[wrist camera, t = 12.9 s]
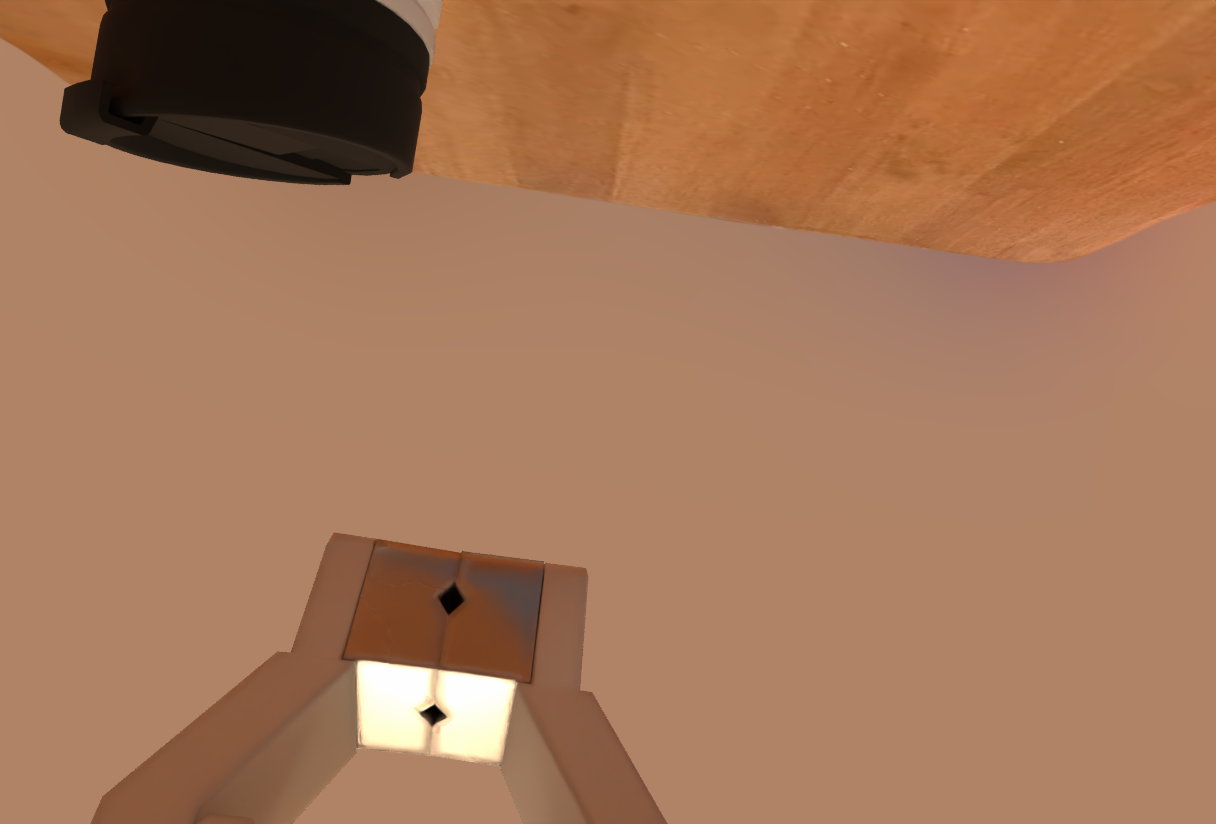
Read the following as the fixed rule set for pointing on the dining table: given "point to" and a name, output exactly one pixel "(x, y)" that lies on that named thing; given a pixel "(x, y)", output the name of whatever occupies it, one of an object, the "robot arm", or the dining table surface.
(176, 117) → the travel mug
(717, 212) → the dining table surface
